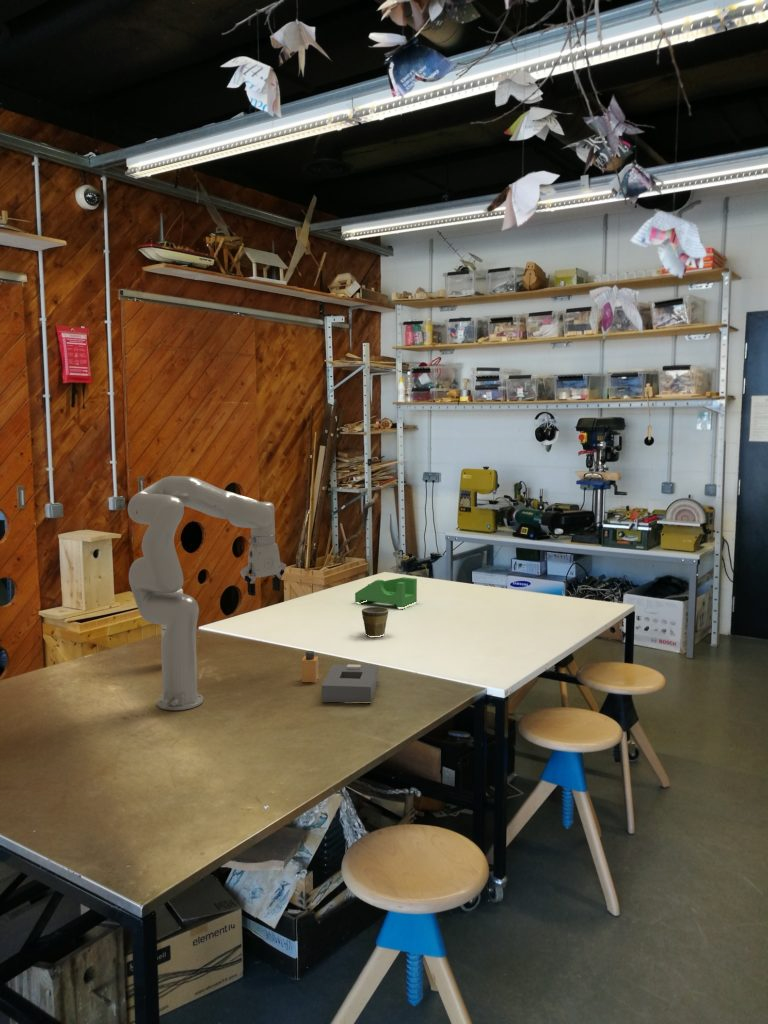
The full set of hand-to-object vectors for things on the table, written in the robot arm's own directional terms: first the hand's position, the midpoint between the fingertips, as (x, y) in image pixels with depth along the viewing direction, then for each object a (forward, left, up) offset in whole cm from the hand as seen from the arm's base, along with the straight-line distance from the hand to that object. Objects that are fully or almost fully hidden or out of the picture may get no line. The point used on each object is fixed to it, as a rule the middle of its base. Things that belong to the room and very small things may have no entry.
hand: (264, 592), depth 248 cm
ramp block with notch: (+95, -31, -25) cm, 103 cm away
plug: (-12, -17, -25) cm, 32 cm away
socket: (-21, -31, -25) cm, 45 cm away
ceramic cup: (+43, -31, -25) cm, 59 cm away
